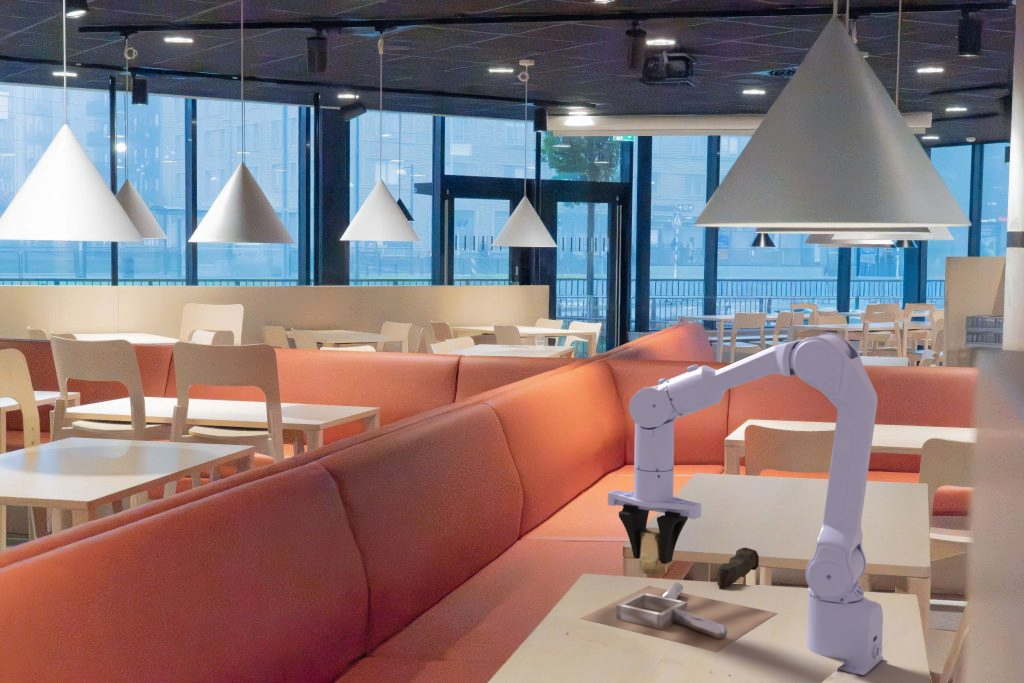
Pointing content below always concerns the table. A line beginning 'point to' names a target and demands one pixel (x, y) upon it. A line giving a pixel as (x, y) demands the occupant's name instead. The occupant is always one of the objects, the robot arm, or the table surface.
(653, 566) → the brass cylinder
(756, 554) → the hand tool
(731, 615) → the plate
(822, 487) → the table surface
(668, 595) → the shaft
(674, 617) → the shaft
